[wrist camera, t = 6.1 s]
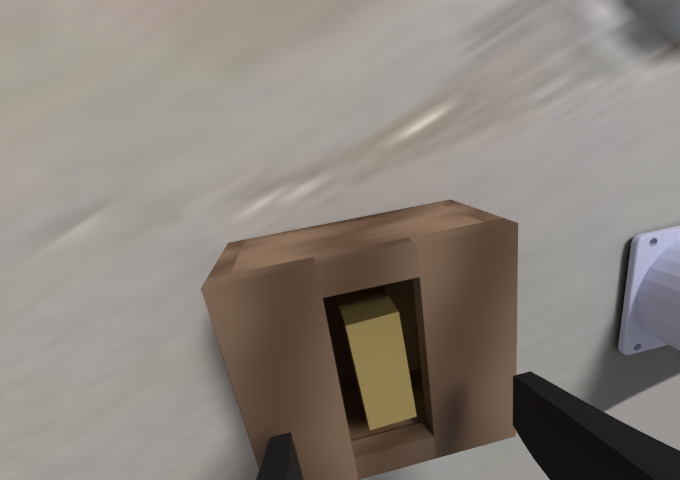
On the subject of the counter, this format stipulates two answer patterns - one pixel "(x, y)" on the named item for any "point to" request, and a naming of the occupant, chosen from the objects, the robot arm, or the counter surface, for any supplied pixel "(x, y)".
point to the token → (377, 355)
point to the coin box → (330, 347)
